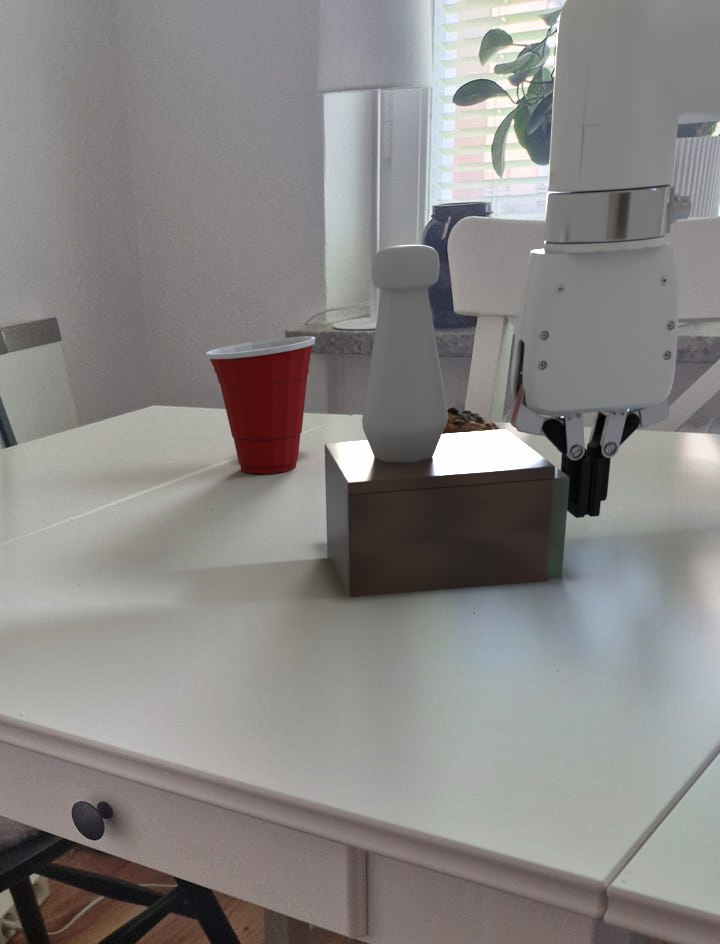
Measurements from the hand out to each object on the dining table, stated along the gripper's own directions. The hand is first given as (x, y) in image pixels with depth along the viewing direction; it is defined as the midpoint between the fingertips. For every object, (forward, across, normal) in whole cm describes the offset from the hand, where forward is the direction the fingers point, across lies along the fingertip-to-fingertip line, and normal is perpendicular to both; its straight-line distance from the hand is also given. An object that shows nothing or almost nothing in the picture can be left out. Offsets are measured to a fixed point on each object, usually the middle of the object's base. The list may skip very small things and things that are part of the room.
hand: (581, 511), depth 83 cm
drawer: (+3, +9, 0) cm, 9 cm away
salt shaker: (-5, +13, 0) cm, 14 cm away
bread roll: (+4, +1, -40) cm, 40 cm away
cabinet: (+4, +11, 0) cm, 12 cm away
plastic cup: (+4, +20, -39) cm, 44 cm away
